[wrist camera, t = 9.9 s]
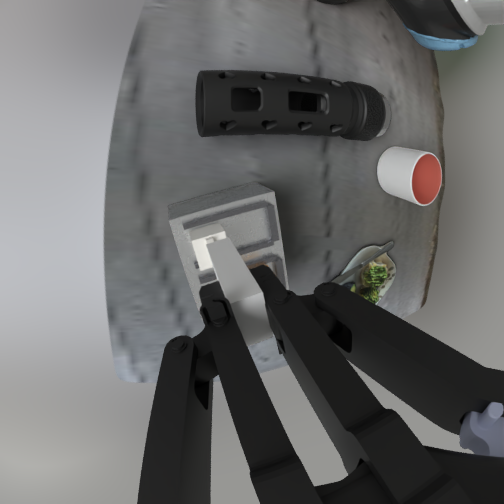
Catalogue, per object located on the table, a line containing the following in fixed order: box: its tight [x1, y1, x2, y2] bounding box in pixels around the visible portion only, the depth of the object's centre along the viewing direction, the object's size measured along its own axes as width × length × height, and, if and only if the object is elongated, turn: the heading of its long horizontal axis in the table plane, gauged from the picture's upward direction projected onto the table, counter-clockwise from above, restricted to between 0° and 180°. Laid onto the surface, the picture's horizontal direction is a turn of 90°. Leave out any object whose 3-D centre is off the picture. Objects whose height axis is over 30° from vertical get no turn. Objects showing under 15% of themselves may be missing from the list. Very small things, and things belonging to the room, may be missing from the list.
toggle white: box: [189, 223, 226, 271], centre depth 34 cm, size 4×4×4 cm
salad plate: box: [332, 241, 396, 305], centre depth 57 cm, size 19×18×5 cm
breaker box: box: [168, 182, 289, 320], centre depth 42 cm, size 14×16×9 cm
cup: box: [377, 146, 442, 206], centre depth 46 cm, size 10×10×10 cm
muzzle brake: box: [196, 70, 391, 141], centre depth 35 cm, size 10×28×10 cm, turn 91°
